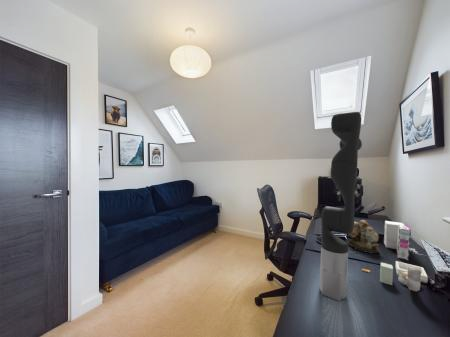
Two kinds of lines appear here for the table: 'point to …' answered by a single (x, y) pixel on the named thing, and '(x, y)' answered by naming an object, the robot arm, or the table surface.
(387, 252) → the table surface
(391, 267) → the stop block
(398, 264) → the tray
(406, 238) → the candy bar box
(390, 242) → the supplement box
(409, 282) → the crank arm
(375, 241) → the owl figurine
